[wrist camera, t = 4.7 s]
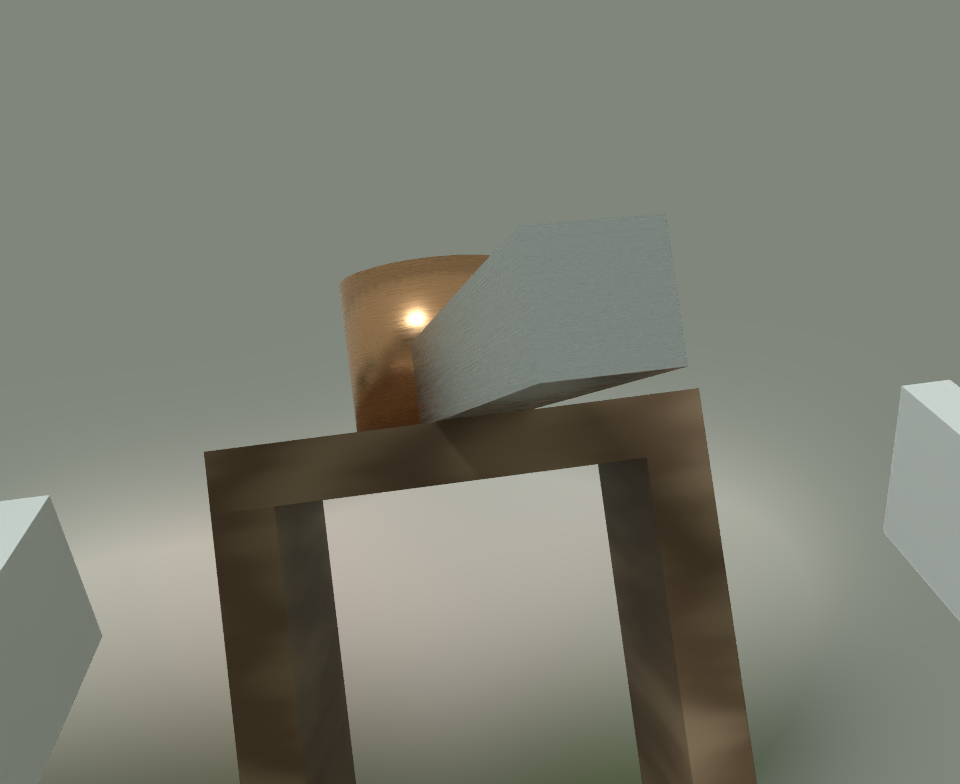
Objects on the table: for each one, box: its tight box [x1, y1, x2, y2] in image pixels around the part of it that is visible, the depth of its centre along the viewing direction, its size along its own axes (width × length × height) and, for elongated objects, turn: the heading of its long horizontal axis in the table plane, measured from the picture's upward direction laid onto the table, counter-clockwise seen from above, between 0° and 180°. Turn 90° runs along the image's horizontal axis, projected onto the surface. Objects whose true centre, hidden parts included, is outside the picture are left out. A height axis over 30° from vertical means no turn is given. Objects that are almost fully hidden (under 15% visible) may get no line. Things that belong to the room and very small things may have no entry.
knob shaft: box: [340, 214, 688, 432], centre depth 28 cm, size 7×22×6 cm, turn 13°
